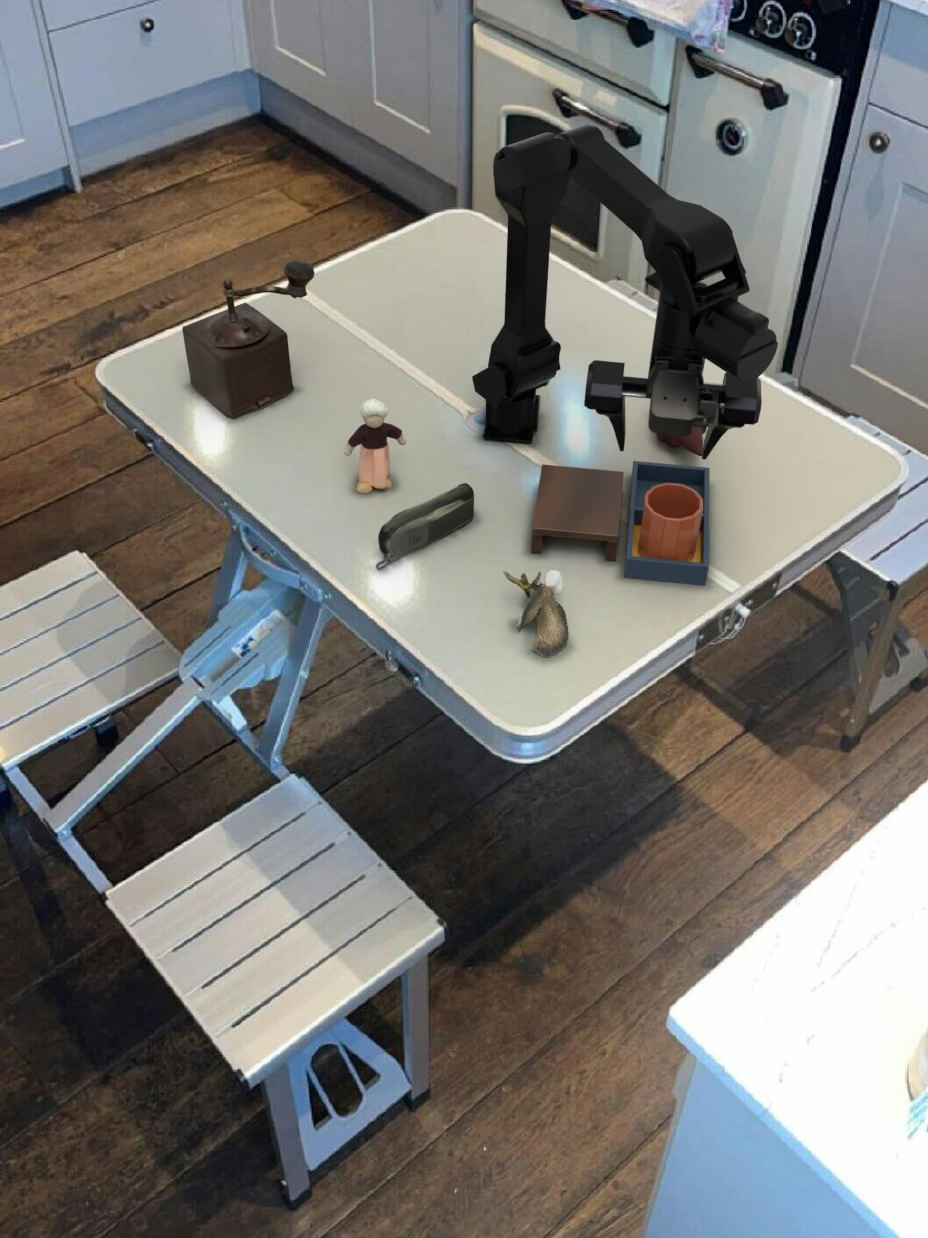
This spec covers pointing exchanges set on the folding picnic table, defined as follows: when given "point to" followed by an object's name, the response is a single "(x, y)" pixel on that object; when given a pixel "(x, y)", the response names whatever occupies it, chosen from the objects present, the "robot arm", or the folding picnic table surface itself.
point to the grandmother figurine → (374, 446)
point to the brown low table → (578, 506)
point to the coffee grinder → (243, 349)
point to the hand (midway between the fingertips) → (662, 453)
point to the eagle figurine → (544, 612)
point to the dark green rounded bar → (425, 523)
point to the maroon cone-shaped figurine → (685, 440)
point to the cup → (670, 522)
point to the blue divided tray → (641, 483)
